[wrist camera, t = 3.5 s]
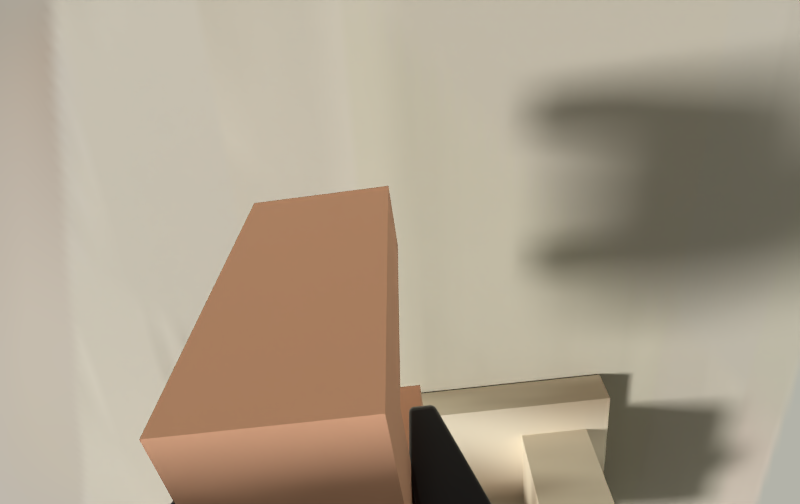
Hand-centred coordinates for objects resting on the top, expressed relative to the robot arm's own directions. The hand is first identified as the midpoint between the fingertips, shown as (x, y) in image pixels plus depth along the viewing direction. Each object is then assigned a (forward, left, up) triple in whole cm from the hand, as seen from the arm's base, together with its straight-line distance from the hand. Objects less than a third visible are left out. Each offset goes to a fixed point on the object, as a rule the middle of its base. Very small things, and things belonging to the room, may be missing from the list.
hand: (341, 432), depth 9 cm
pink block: (0, 0, -3) cm, 3 cm away
